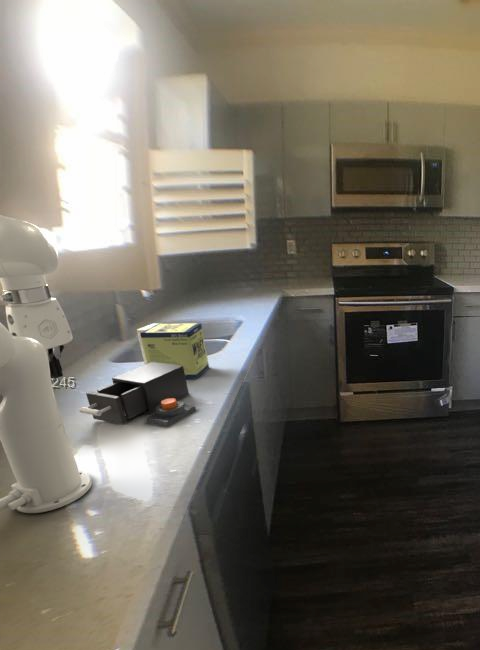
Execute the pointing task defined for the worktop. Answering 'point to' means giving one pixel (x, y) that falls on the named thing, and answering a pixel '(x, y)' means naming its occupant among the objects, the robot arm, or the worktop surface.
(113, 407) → the drawer
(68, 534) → the worktop surface
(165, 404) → the button
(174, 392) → the dark grey cabinet
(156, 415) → the block
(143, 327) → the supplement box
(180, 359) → the protein box
